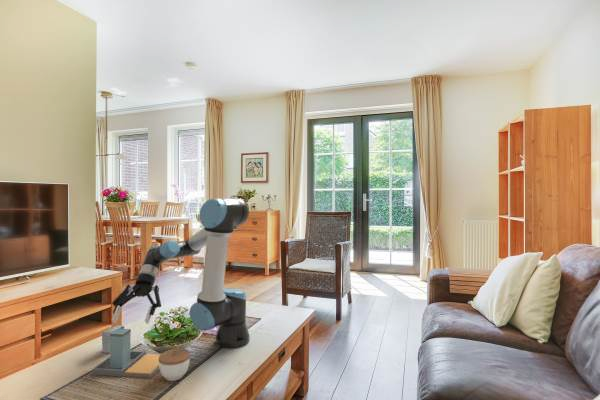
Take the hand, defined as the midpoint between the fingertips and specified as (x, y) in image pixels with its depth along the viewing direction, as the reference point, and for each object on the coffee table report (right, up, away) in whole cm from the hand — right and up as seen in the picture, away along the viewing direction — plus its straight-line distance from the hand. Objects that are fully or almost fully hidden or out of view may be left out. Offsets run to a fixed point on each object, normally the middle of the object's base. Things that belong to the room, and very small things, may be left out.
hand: (130, 322), depth 140 cm
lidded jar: (+25, -14, -17) cm, 33 cm away
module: (+1, -13, -9) cm, 16 cm away
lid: (+12, -13, -10) cm, 21 cm away
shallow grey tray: (+1, -13, -9) cm, 16 cm away
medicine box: (-10, -13, +5) cm, 17 cm away
